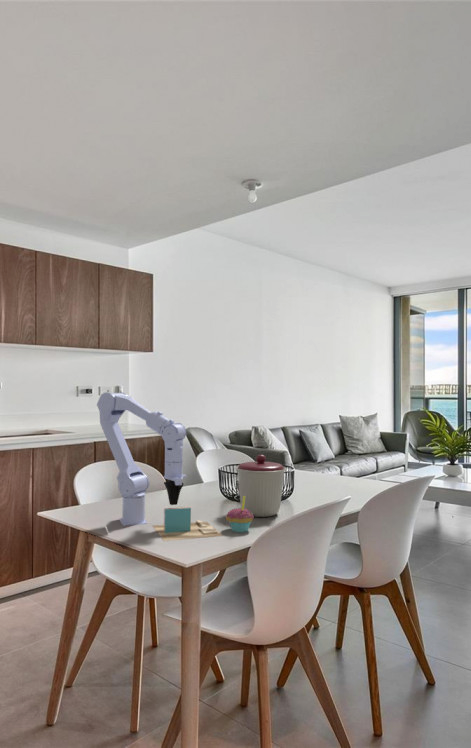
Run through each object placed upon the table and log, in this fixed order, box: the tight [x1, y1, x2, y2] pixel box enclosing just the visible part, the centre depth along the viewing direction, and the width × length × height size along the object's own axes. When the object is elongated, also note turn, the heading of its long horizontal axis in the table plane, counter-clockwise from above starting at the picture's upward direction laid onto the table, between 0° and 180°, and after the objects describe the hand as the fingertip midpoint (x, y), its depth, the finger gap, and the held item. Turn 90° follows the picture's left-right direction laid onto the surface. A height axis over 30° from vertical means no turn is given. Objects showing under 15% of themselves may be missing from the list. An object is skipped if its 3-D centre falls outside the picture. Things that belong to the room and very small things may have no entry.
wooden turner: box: [195, 519, 219, 534], centre depth 168 cm, size 14×4×1 cm, turn 19°
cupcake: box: [225, 494, 255, 533], centre depth 166 cm, size 9×8×12 cm
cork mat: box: [152, 521, 224, 542], centre depth 164 cm, size 18×18×1 cm
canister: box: [235, 454, 287, 518], centre depth 190 cm, size 18×18×21 cm
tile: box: [163, 506, 192, 533], centre depth 164 cm, size 2×8×7 cm, turn 109°
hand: (173, 504), depth 169 cm, fingers closed
